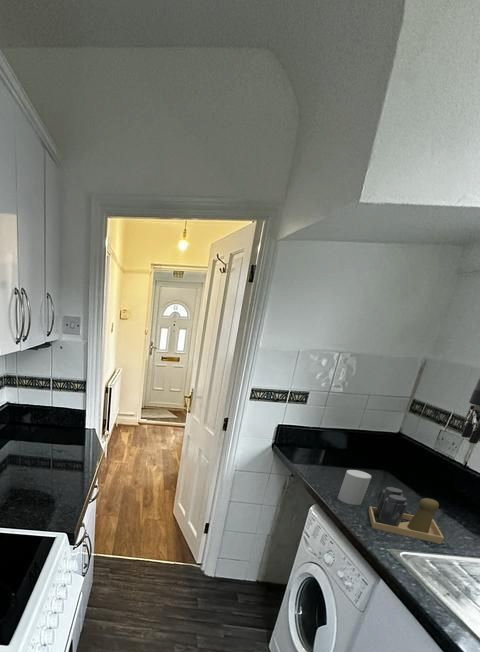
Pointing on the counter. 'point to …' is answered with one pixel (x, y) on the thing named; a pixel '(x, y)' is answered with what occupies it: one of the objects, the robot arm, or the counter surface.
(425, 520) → the cork
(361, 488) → the white upright cylinder
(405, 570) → the counter surface
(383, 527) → the tray
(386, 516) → the shaker
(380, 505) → the shaker
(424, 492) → the counter surface
